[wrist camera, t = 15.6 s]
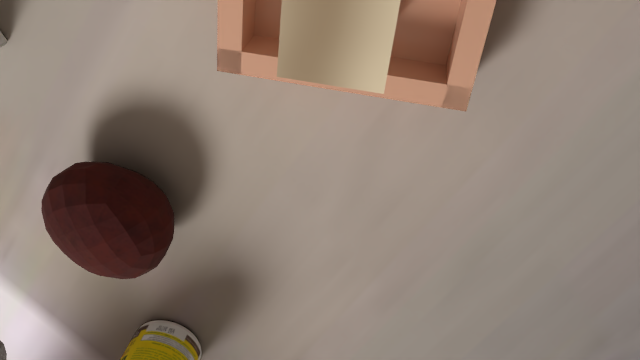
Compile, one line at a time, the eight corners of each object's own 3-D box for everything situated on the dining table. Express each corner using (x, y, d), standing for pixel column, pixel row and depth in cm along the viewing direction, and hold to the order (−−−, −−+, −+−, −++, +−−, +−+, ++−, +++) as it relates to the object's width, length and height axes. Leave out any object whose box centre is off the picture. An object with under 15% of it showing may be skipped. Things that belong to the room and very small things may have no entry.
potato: (152, 127, 36) (106, 180, 31) (207, 232, 39) (175, 294, 34) (56, 152, 38) (-1, 205, 33) (118, 249, 42) (75, 310, 37)
